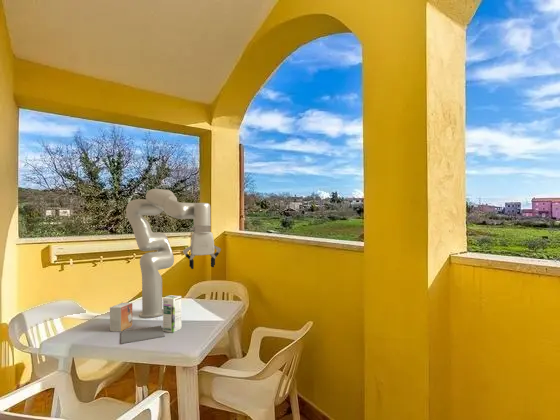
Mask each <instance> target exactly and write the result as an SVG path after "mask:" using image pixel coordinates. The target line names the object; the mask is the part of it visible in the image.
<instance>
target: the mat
mask: <svg viewBox="0 0 560 420" xmlns="http://www.w3.org/2000/svg"><path fill="white" fill-rule="evenodd" d="M120 333H121V336H120V340H121V341H120V344H121V345H123V344H124V343H125V344H128V343H129V344H130V343H135V342H136V343H137V342H141V341H148V340H152V339H153V340H155V339H159V338H165V331H163V326H162V325H157V326H150V327H143V328H136V329H130V330H123V331H121V332H120Z"/></svg>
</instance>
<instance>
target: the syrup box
mask: <svg viewBox="0 0 560 420" xmlns="http://www.w3.org/2000/svg"><path fill="white" fill-rule="evenodd" d="M162 309H163V315H162V330H163V332H168V333H176V332H177V331H179V330H181V329H182V295H172V294H171V295H170V294H169V295H166V296H165V297H162Z"/></svg>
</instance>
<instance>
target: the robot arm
mask: <svg viewBox="0 0 560 420" xmlns="http://www.w3.org/2000/svg"><path fill="white" fill-rule="evenodd" d="M125 210H126V213H125V214H126V218H127V221H128V222H129V224H130V226H131V229H132V231H133V234H134V239H135V241H136V244H137V245H136V246H137V247H138V250H139V251H141V252H146V253H143V254H142V255H141V256H140V259H139V266H140V272H141V289H142V290H141V295H142V296H141V298H142V299H141V302H142V303H141V309H142V310H141V311H140V312H139V313H138V316H139V317H140V318H144V319H151V318H158V317H162V316H163V277H162V274H161V273H160V270H166V269H169V268H172V267H173V265H174V264H175V263H174V262H175V256H174V253H173V250H172V246H171V244H170V240H169V238H168V236H167V235H166V233H164V232H159V231H156V232H155V231H153V230H152V227H151V225H150V222H149V221H148V220H147V219H146V218H145V217H144V216H158V215H160V214H162V213H165V215H167V216H169V217H171V218H174V219H178V220H193V226H192V227H189V228H190V229H189V230H190V231H191V232H192V233H191V239H190V245H189V246H188V247H186V248H184V249H183V250H182V252H183V254H184V256H185V257H186V258H187V259H188V260H189V265H188V266H189V268H190V269H191V270H193V269H194V266H195V262H194V258H195V256H207V255H210V257H211V258H210V267H211V268H215V266H216V258H217V257H218V256H219V254H220V252H221V250H222V248H221V247H219V246H217V245H215V241H214V234H213V232H211V231H212V230H211V227H212V225H211V222H212V221H211V220H212V219H211V213H212V212H211V204H210V203H208V202H179V201H178V198H177V196H176V195H175V193H174V192H173V191H172V190H170V189H161V188H152V189H149V190H148V191H147V192H146V194H145V198H143V199H142V198H136V199H132V200H130V201H129V202H128V203H127V204H126V209H125ZM215 250H216V252H215ZM188 251H190V255H189V254H188Z"/></svg>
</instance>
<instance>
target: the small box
mask: <svg viewBox="0 0 560 420" xmlns="http://www.w3.org/2000/svg"><path fill="white" fill-rule="evenodd" d="M132 327H133V303H132V302H121V303H119V304H116V305H113V306H110V307H109V331H110V332H120V333H121V332H122V331H126V330H127V329H129V328H132Z"/></svg>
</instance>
